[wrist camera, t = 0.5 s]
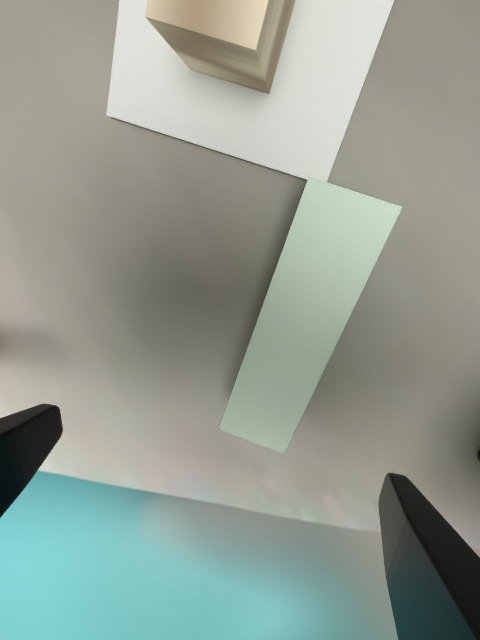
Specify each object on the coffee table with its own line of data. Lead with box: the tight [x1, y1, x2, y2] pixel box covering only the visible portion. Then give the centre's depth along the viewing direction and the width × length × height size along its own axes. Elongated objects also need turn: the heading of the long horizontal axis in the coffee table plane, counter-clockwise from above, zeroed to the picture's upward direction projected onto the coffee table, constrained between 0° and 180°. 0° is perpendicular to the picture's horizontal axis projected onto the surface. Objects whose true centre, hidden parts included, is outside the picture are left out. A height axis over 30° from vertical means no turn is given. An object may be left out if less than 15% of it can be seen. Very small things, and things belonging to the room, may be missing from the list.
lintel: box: [219, 176, 402, 454], centre depth 18 cm, size 4×14×4 cm, turn 163°
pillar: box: [145, 0, 296, 94], centre depth 13 cm, size 4×4×5 cm
